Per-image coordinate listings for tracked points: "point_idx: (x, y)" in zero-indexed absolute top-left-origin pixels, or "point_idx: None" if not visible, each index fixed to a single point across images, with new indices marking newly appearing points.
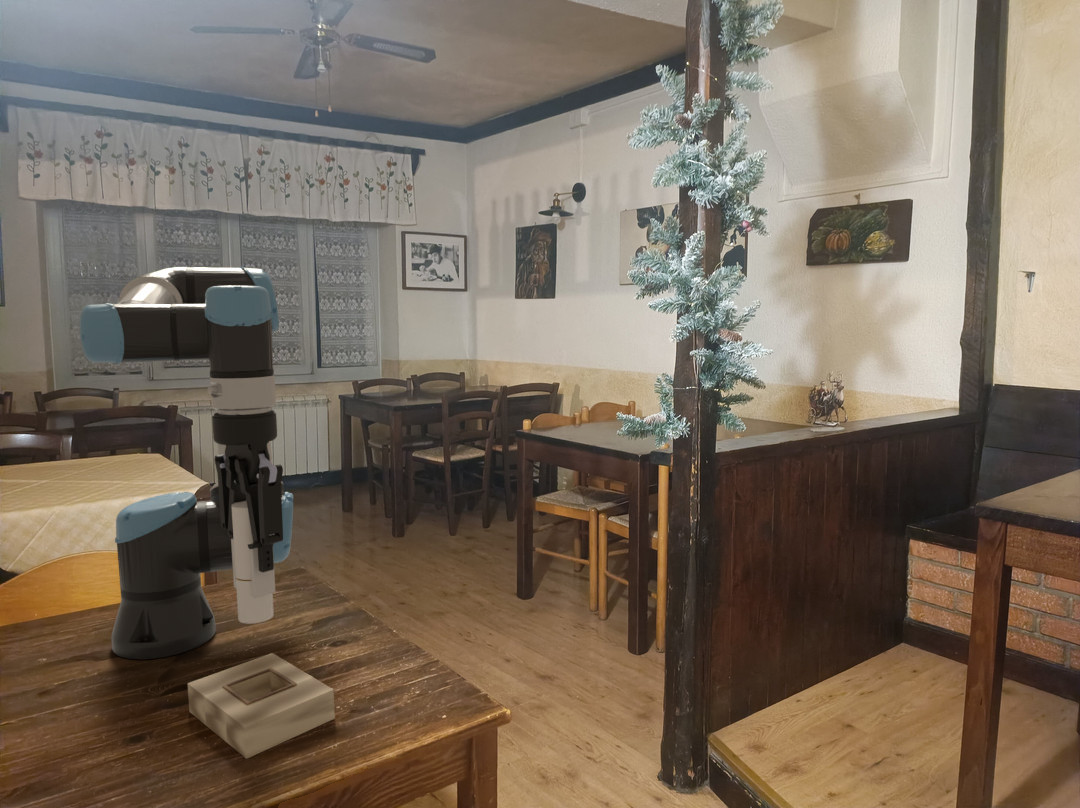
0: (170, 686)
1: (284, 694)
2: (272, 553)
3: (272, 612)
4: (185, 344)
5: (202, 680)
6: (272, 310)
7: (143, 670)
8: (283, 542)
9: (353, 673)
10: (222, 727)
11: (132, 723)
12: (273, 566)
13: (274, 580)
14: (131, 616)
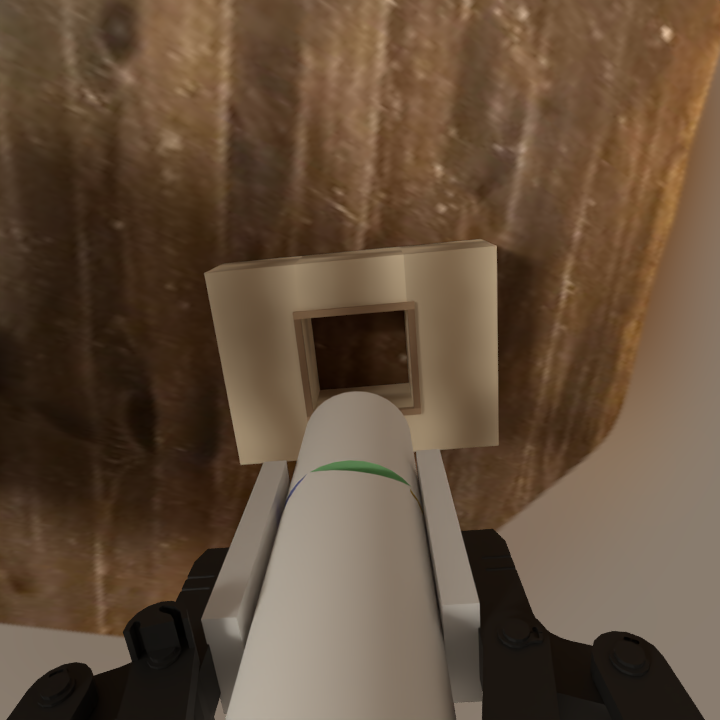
0: (123, 430)
1: (434, 339)
2: (523, 592)
3: (393, 409)
4: None
5: (247, 440)
6: None
7: (15, 448)
8: None
9: (319, 95)
10: None
11: (231, 512)
12: (505, 542)
13: (446, 476)
14: None
